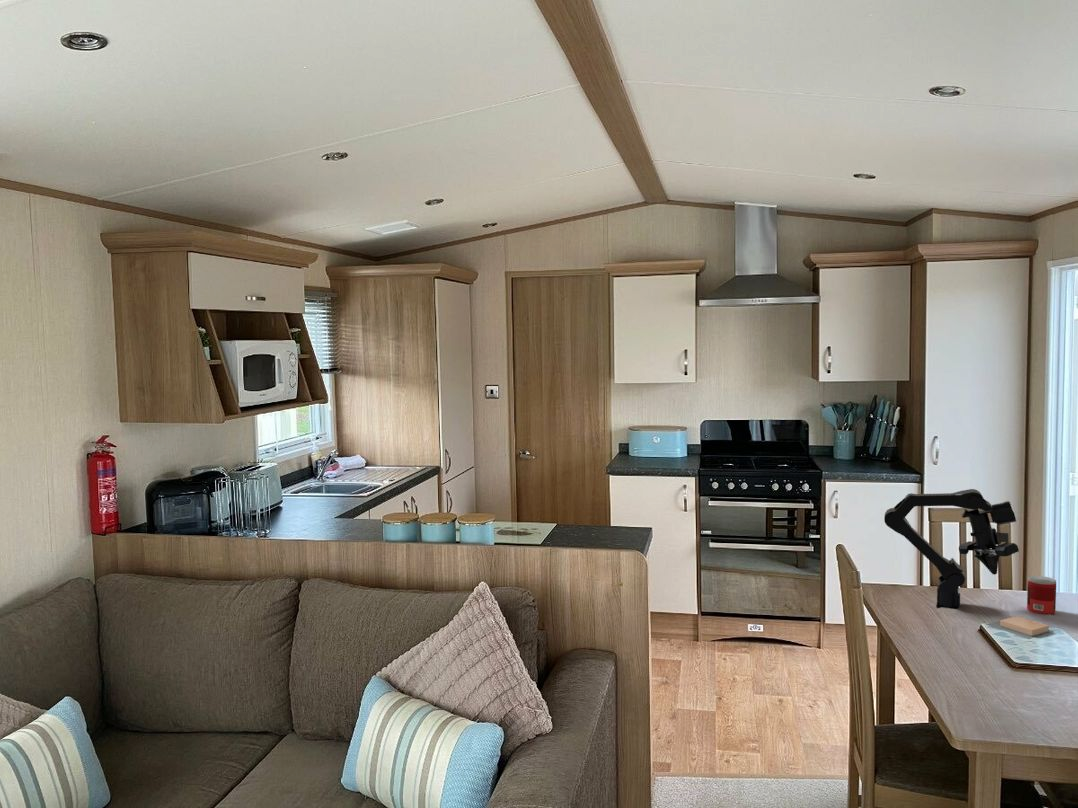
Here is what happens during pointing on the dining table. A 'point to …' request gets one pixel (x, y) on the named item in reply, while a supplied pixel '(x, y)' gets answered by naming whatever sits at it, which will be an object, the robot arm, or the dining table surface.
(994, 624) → the mat
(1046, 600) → the canned food
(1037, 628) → the tile
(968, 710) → the dining table surface
